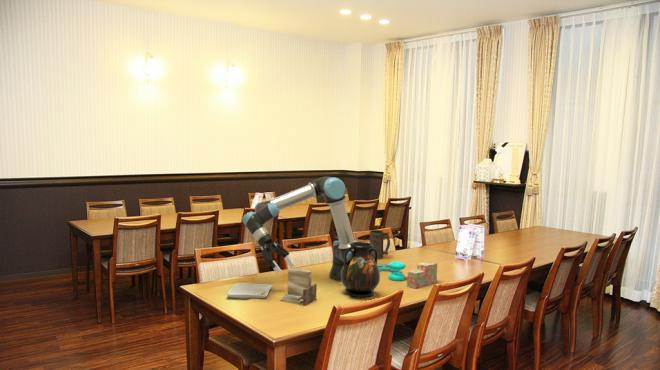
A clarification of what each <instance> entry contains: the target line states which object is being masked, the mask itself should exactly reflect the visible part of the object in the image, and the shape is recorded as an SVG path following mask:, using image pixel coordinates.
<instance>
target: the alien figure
mask: <svg viewBox="0 0 660 370" xmlns="http://www.w3.org/2000/svg"><path fill="white" fill-rule="evenodd" d="M377 266H378V269H379V272H380V273H381V272H387V273H389V272H390V273H393V272H399V273H402V274H403V271H402V270H394V269H392V268H390V267H389V264H388V263H377Z"/></svg>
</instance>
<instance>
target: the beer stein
mask: <svg viewBox="0 0 660 370" xmlns="http://www.w3.org/2000/svg"><path fill="white" fill-rule="evenodd" d="M384 239H386V240H387V242H386V247H385V250H384ZM369 243H371V244H372V245H373V247H372V248H374V249H376V251H377V254H378V258H377V260H383V259H384V255H386V256H388V254H389V252H388V251H389V249H390V246H391V239H390V234H385V235H384V231H383V230H378V229H372V230H370V231H369ZM372 248H370V249H372ZM370 256H371V257H372V258H373V259H374V260H375V252H374V251H372V252H371V255H370Z"/></svg>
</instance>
